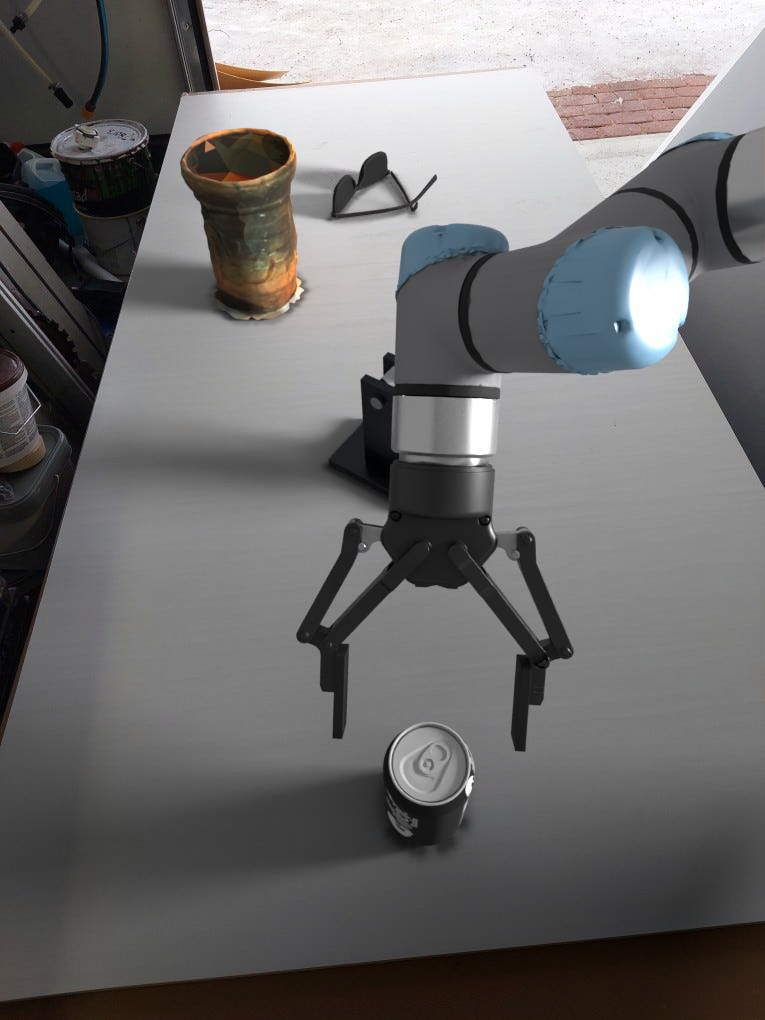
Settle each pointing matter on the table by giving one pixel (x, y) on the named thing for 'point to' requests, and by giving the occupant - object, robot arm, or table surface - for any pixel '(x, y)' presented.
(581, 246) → the robot arm
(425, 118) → the table surface
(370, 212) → the sunglasses
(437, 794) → the beverage can
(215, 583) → the table surface
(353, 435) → the bracket
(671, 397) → the table surface
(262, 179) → the vessel
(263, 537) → the table surface
